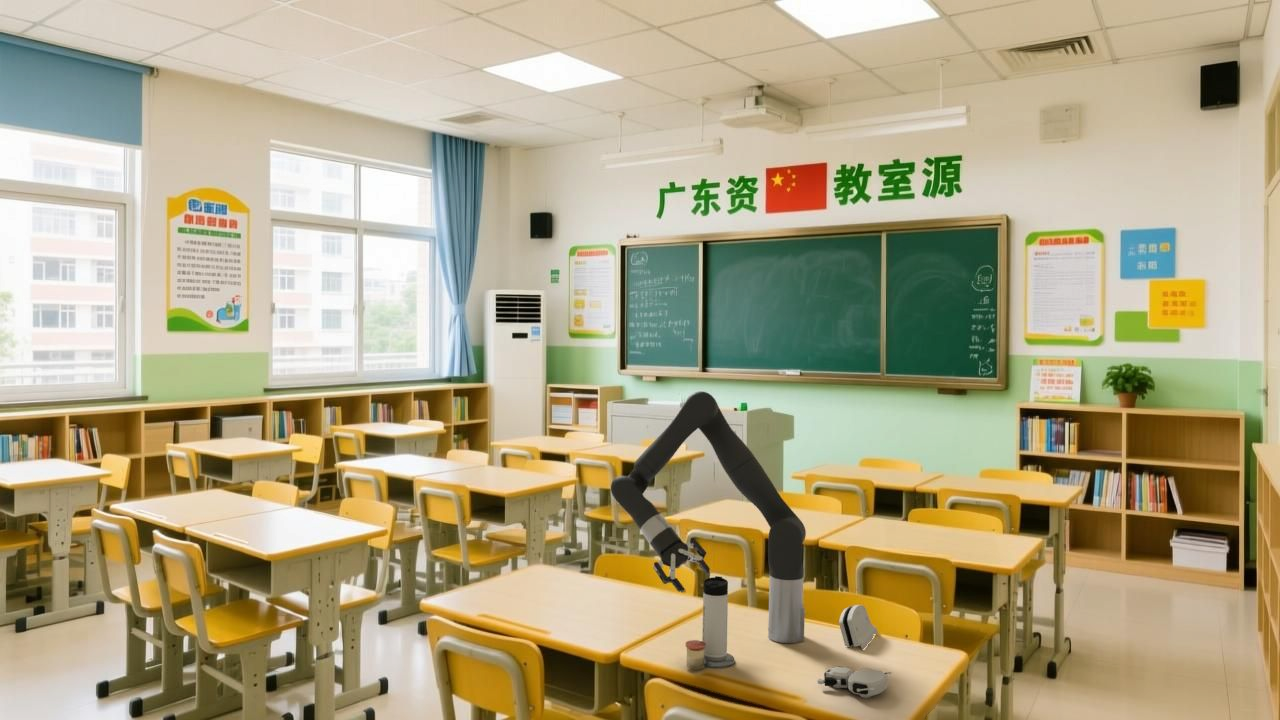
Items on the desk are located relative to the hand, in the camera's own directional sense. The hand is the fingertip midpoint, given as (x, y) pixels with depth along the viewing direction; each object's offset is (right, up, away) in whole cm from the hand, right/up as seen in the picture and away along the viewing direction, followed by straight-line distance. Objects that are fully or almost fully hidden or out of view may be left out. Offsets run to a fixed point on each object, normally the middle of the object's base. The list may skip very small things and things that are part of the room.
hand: (696, 582), depth 234 cm
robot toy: (+35, -18, -29) cm, 49 cm away
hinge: (+45, -18, +6) cm, 49 cm away
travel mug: (+4, -16, -12) cm, 21 cm away
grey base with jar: (+2, -17, -14) cm, 22 cm away
